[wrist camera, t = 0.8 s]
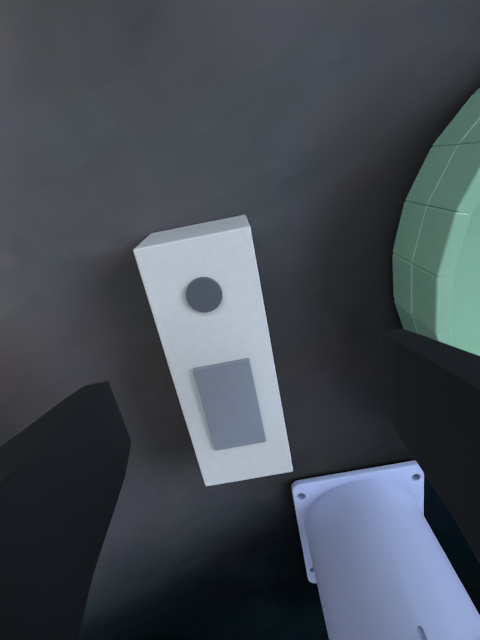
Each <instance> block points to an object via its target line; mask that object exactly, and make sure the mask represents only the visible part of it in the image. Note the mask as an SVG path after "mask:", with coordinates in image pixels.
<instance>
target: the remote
mask: <svg viewBox="0 0 480 640" xmlns="http://www.w3.org/2000/svg"><path fill="white" fill-rule="evenodd" d="M133 252H134V255H135V258H136V262H137V265H138V268H139V271H140V275H141V278H142V281H143V285H144V288H145V291H146V294H147V298H148V301H149V304H150V307H151V311H152V314H153V317H154V320H155V324H156V327H157V330H158V333H159V337H160V340H161V343H162V346H163V350H164V353H165V356H166V359H167V363H168V366H169V369H170V372H171V376H172V379H173V382H174V385H175V389H176V392H177V395H178V398H179V402H180V405H181V408H182V411H183V415H184V418H185V421H186V424H187V428H188V431H189V434H190V437H191V441H192V444H193V447H194V450H195V454H196V457H197V460H198V463H199V467H200V470H201V473H202V476H203V480H204V483H205V486H211V485H217V484H223V483H229V482H235V481H240V480H246V479H252V478H258V477H264V476H270V475H276V474H281V473H287V472H292V471H293V467H292V461H291V455H290V450H289V444H288V438H287V433H286V427H285V421H284V416H283V410H282V404H281V399H280V393H279V387H278V382H277V376H276V370H275V365H274V359H273V353H272V347H271V342H270V336H269V330H268V325H267V319H266V313H265V308H264V302H263V296H262V291H261V285H260V279H259V274H258V268H257V262H256V257H255V251H254V245H253V239H252V234H251V228H250V225H249V223H248V220H247V217H246V215H241V216H236V217H231V218H226V219H221V220H216V221H211V222H206V223H201V224H196V225H191V226H186V227H181V228H176V229H171V230H166V231H161V232H156V233H151V234H150V235H149V236H148V237H147V238H145V239H144V240H143V241H142V242H141V243H140V244H139V245H138V246H137V247H136V248H135V249H134V250H133Z"/></svg>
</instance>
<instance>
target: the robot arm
mask: <svg viewBox="0 0 480 640" xmlns="http://www.w3.org/2000/svg"><path fill="white" fill-rule="evenodd" d="M377 339H378V362H379V386H380V399H381V401H382V404H383V406H384V408H385V410H386V412H387V414H388V416H389V418H390V420H391V422H392V424H393V426H394V428H395V430H396V432H397V433H398V435H399V436H400V438H401V439H402V441H403V442H404V444H405V445H406V447H407V448H408V450H409V451H410V453H411V454H412V456H413V457H414V459H415V460H416V461H408V462H402V463H396V464H390V465H384V466H378V467H372V468H367V469H361V470H355V471H349V472H343V473H337V474H331V475H325V476H319V477H313V478H308V479H302V480H297V481H295V482H293V483H292V485H291V489H292V495H293V500H294V506H295V511H296V517H297V522H298V528H299V533H300V538H301V544H302V549H303V555H304V560H305V566H306V571H307V577H308V580H309V581H310V582H311V583H317V586H318V590H319V595H320V599H321V604H322V609H323V613H324V618H325V623H326V627H327V632H328V636H329V640H480V615H479V613H478V612H477V610H476V608H475V606H474V604H473V603H472V601H471V599H470V597H469V596H468V594H467V592H466V590H465V588H464V587H463V585H462V583H461V581H460V580H459V578H458V576H457V574H456V572H455V571H454V569H453V567H452V565H451V564H450V562H449V560H448V558H447V556H446V555H445V553H444V551H443V549H442V548H441V546H440V544H439V542H438V540H437V539H436V537H435V535H434V533H433V532H432V530H431V528H430V526H429V524H428V523H427V521H426V519H425V517H424V474H425V475H426V477H427V478H428V480H429V481H430V483H431V484H432V486H433V487H434V489H435V490H436V491H437V493H438V494H439V496H440V497H441V499H442V500H443V502H444V503H445V505H446V506H447V508H448V509H449V511H450V513H451V514H452V516H453V518H454V519H455V521H456V522H457V524H458V526H459V527H460V529H461V531H462V533H463V535H464V536H465V538H466V540H467V542H468V544H469V546H470V547H471V549H472V551H473V553H474V555H475V557H476V558H477V560H478V562H479V564H480V356H479V355H476V354H473V353H470V352H467V351H464V350H462V349H459V348H456V347H453V346H451V345H448V344H445V343H442V342H440V341H437V340H434V339H431V338H429V337H426V336H423V335H420V334H417V333H414V332H411V331H408V330H404V329H397V330H391V331H386V332H380V333H377ZM130 445H131V440H130V437H129V434H128V432H127V429H126V427H125V424H124V421H123V419H122V416H121V413H120V411H119V408H118V406H117V403H116V400H115V398H114V395H113V392H112V390H111V387H110V385H109V382H108V381H107V382H102V383H96V384H90V385H86V386H84V387H82V388H81V389H79V390H77V391H76V392H74V393H73V394H71V395H70V396H69V397H67V398H66V399H64V400H63V401H62V402H60V403H59V404H58V405H56V406H55V407H54V408H52V409H51V410H50V411H48V412H47V413H46V414H44V415H43V416H42V417H40V418H39V419H38V420H36V421H35V422H34V423H32V424H31V425H30V426H28V427H27V428H26V429H24V430H23V431H22V432H20V433H19V434H18V435H16V436H15V437H14V438H12V439H11V440H9V441H8V442H7V443H5V444H4V445H2V446H1V447H0V640H78V637H79V632H80V628H81V624H82V619H83V615H84V610H85V606H86V602H87V597H88V593H89V589H90V584H91V581H92V577H93V574H94V570H95V567H96V564H97V560H98V557H99V554H100V551H101V548H102V545H103V542H104V539H105V536H106V533H107V530H108V527H109V524H110V521H111V518H112V515H113V512H114V509H115V506H116V503H117V500H118V497H119V493H120V490H121V487H122V484H123V481H124V477H125V473H126V468H127V463H128V457H129V451H130Z"/></svg>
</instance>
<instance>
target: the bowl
mask: <svg viewBox="0 0 480 640" xmlns="http://www.w3.org/2000/svg"><path fill="white" fill-rule="evenodd" d="M405 201H406V202H404V205H403V209H402V214H401V218H400V222H399V226H398V231H397V235H396V239H395V243H394V248H393V253H394V254H393V255H392V257H393V294H394V302H395V305H396V308H397V311H398V314H399V317H400V320H401V323H402V326H403V329H404V330H408V331H411V332H414V333H417V334H420V335H423V336H426V337H429V338H431V339H434V340H437V341H440V342H442V343H445V344H448V345H451V346H453V347H456V348H459V349H462V350H464V351H467V352H470V353H473V354H476V355H479V356H480V88H479V89H478V90H477V91H475V93H474V94H473V95H472V96H471V97H470V98H469V99H468V101H467V102H466V103H465V105H464V106H463V107H462V108H461V110H460V111H459V112H458V113H457V115H456V116H455V117H454V118H453V120H452V121H451V122H450V124H449V125H448V126H447V127H446V129H445V130H444V131H443V132H442V134H441V135H440V136H439V137H438V139H437V140H436V141H435V143H434V144H433V145H432V148H431V149H430V151H429V153H428V155H427V157H426V159H425V161H424V163H423V165H422V167H421V169H420V171H419V173H418V175H417V177H416V179H415V181H414V183H413V185H412V187H411V189H410V191H409V193H408V195H407V197H406V200H405Z"/></svg>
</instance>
